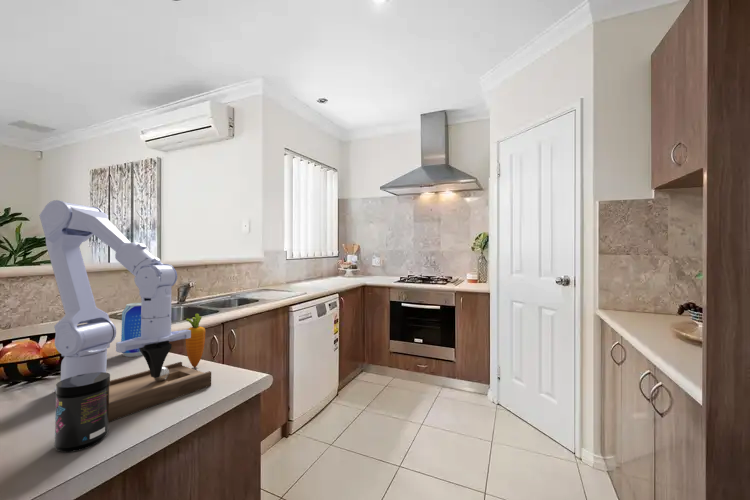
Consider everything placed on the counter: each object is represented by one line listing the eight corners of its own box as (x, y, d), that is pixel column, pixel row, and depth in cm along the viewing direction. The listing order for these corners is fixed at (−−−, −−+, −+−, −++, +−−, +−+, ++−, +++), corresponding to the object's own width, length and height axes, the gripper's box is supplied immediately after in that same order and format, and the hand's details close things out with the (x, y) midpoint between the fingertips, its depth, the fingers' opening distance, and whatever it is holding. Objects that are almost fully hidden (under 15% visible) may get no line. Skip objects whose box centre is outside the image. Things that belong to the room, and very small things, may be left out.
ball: (160, 381, 74) (147, 381, 71) (163, 366, 75) (151, 366, 72) (171, 381, 73) (158, 381, 70) (173, 366, 74) (161, 366, 71)
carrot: (195, 371, 86) (196, 316, 86) (180, 369, 87) (181, 315, 87) (208, 365, 91) (209, 313, 91) (194, 363, 92) (195, 312, 92)
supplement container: (83, 430, 56) (85, 371, 57) (118, 431, 56) (120, 372, 56) (41, 453, 50) (43, 386, 50) (81, 455, 49) (83, 388, 49)
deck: (75, 405, 65) (75, 389, 65) (180, 374, 83) (180, 361, 83) (102, 424, 58) (102, 406, 58) (211, 385, 76) (211, 371, 76)
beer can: (147, 348, 107) (148, 301, 108) (157, 352, 102) (158, 303, 103) (117, 354, 100) (118, 304, 101) (126, 359, 96) (127, 306, 96)
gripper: (126, 323, 64) (125, 391, 63) (197, 313, 76) (197, 369, 76) (112, 320, 67) (111, 384, 67) (182, 311, 80) (182, 365, 79)
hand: (156, 376), depth 71 cm, fingers closed, pressing on ball
